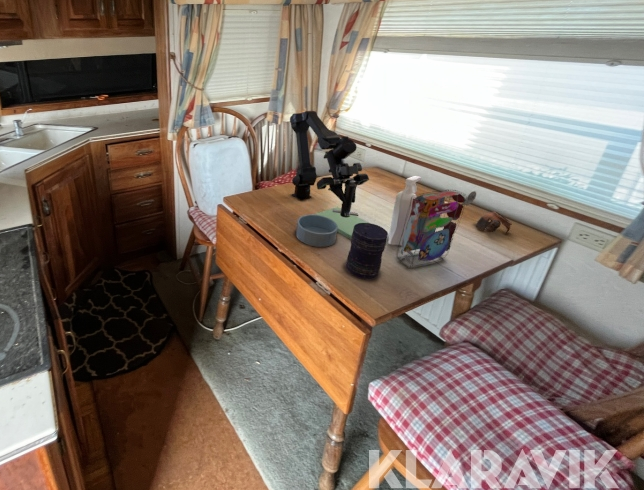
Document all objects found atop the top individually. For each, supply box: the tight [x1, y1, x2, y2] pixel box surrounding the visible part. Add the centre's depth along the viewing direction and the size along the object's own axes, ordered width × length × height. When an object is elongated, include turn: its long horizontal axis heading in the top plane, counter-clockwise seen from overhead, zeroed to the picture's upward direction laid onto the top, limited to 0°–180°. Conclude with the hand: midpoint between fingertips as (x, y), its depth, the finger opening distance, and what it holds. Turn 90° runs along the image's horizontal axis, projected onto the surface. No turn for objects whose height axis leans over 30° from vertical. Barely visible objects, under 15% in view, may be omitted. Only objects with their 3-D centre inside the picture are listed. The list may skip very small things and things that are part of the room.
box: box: [395, 189, 477, 269], centre depth 117 cm, size 25×6×24 cm, turn 108°
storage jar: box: [345, 222, 389, 281], centre depth 113 cm, size 10×10×18 cm
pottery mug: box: [475, 210, 513, 234], centre depth 136 cm, size 12×10×8 cm
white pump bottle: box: [387, 175, 422, 247], centre depth 126 cm, size 7×12×25 cm, turn 126°
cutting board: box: [313, 206, 370, 240], centre depth 143 cm, size 20×14×2 cm
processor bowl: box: [295, 214, 338, 248], centre depth 134 cm, size 14×14×6 cm
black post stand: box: [332, 182, 359, 218], centre depth 132 cm, size 9×8×13 cm
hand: (349, 203), depth 131 cm, fingers closed on black post stand, 3 cm apart
